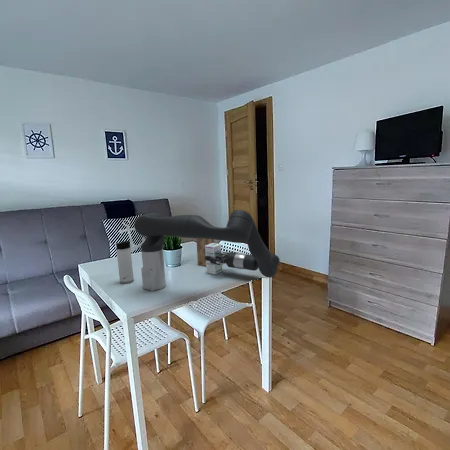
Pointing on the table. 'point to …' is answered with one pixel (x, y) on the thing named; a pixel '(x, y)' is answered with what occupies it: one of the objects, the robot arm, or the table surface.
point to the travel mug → (125, 262)
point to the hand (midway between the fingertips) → (209, 256)
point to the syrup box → (213, 251)
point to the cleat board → (202, 250)
